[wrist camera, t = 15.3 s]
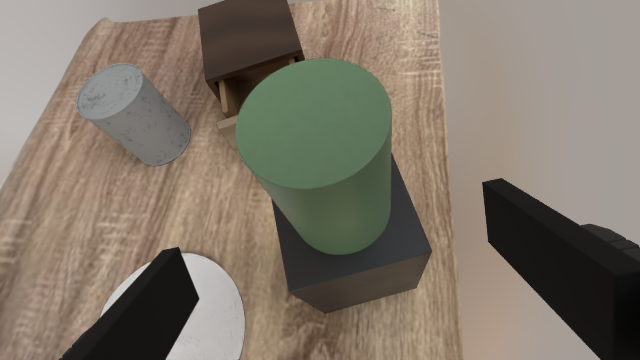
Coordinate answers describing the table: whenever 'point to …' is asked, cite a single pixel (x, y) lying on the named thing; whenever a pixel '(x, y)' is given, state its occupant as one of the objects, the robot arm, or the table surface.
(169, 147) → the grey concrete cylinder
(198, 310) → the plaque
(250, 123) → the tin
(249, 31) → the cabinet
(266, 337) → the table surface
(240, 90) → the drawer
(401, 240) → the riser
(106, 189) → the table surface
